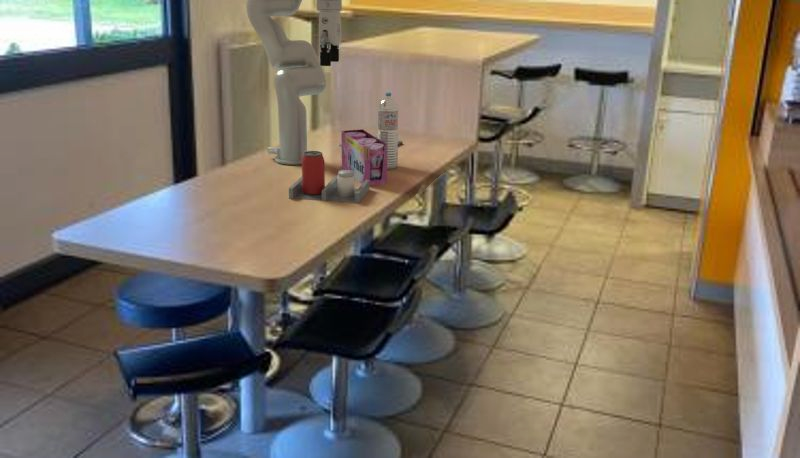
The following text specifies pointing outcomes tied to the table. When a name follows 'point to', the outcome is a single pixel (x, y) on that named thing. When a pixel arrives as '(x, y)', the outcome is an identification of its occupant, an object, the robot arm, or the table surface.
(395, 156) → the water bottle
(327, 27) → the robot arm
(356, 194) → the organizer
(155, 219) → the table surface
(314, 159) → the beer can
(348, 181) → the shaker
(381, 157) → the gum box
